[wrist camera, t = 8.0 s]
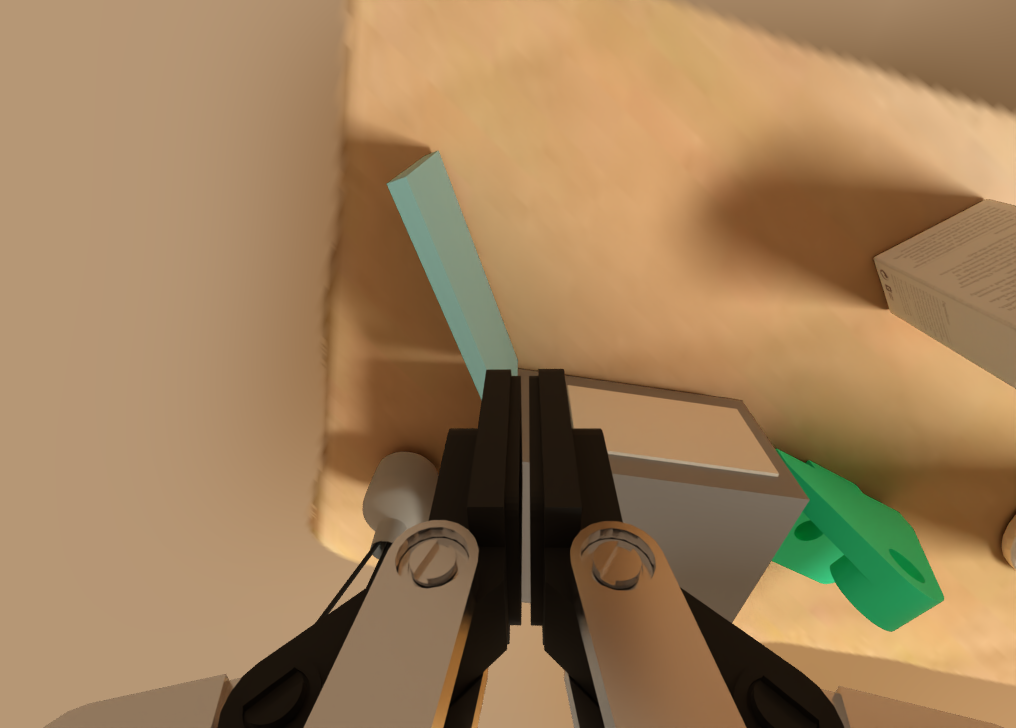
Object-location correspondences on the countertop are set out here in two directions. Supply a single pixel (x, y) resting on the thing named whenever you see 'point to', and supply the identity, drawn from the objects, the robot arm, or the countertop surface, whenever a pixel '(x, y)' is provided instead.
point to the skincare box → (960, 285)
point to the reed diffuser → (394, 505)
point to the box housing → (685, 483)
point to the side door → (453, 266)
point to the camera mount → (858, 548)
